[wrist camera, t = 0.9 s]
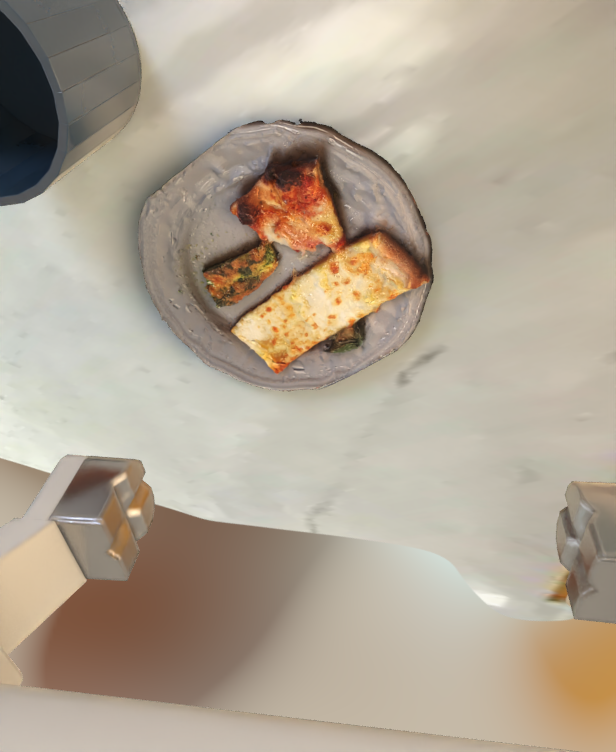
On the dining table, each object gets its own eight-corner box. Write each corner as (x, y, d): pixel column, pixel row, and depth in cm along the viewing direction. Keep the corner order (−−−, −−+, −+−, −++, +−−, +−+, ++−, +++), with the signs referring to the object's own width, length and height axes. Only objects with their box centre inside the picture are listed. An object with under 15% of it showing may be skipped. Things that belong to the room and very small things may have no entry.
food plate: (327, 48, 40) (322, 59, 37) (481, 297, 50) (485, 319, 47) (99, 232, 51) (82, 250, 48) (262, 403, 61) (256, 426, 59)
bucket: (-62, -68, 38) (-211, -61, 29) (130, -48, 38) (39, -34, 28) (-8, 136, 47) (-110, 191, 37) (150, 156, 46) (85, 218, 37)
